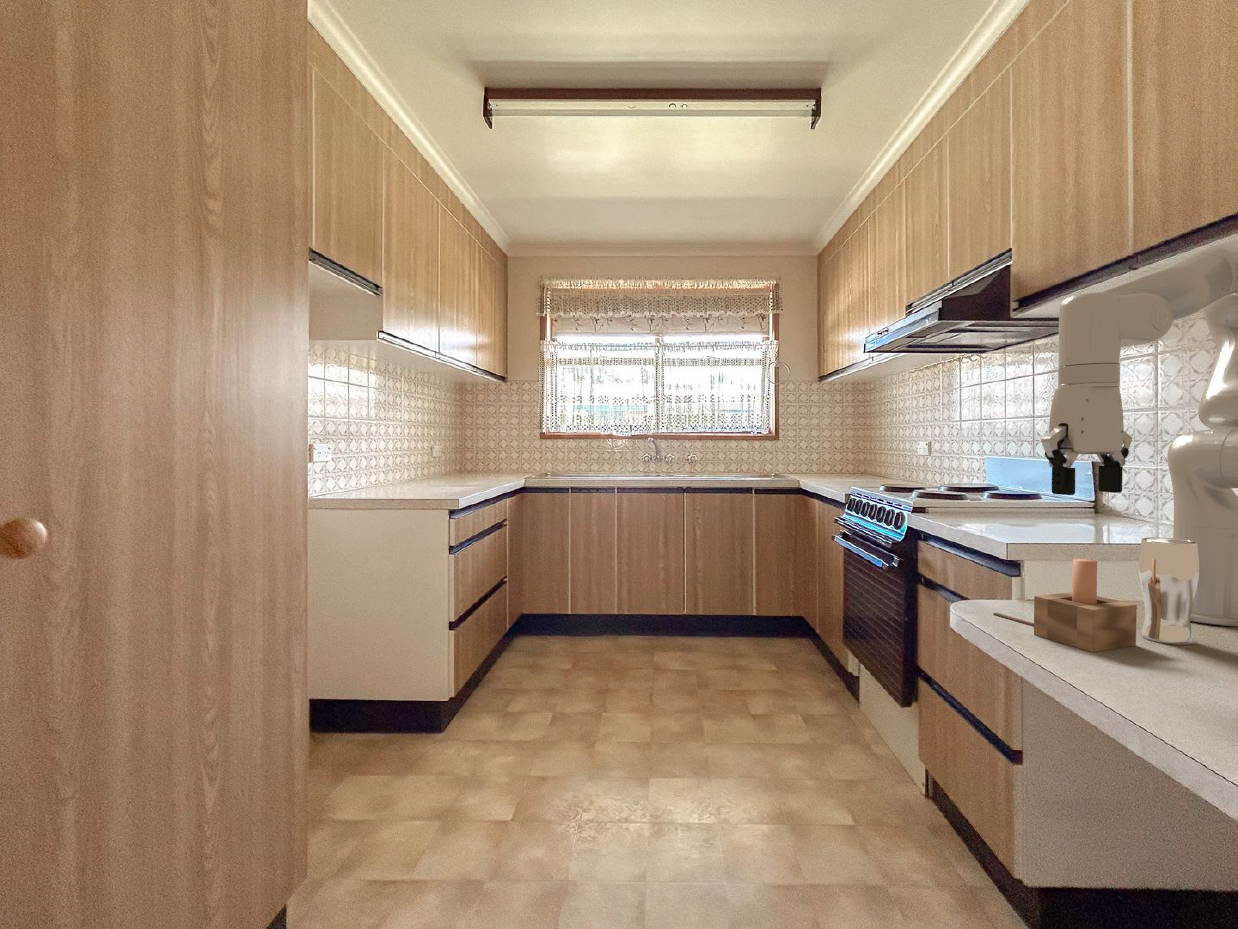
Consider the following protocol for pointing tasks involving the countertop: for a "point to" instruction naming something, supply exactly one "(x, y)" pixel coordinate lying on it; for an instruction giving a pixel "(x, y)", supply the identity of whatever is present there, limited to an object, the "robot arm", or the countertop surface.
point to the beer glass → (1168, 588)
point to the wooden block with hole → (1085, 622)
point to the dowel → (1084, 581)
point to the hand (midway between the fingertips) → (1086, 493)
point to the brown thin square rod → (1014, 619)
